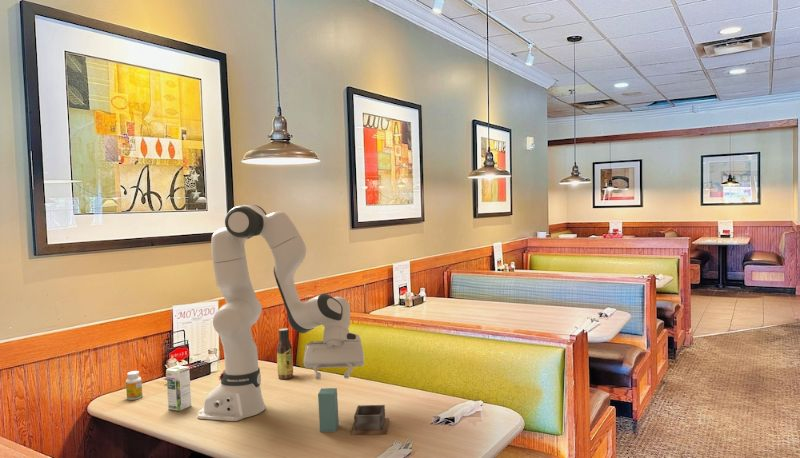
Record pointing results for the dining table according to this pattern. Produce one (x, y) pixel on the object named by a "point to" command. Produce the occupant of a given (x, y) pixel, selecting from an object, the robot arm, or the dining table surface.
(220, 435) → the dining table surface
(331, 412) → the teal block
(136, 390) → the supplement bottle
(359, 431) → the box
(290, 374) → the sauce bottle
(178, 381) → the syrup box
